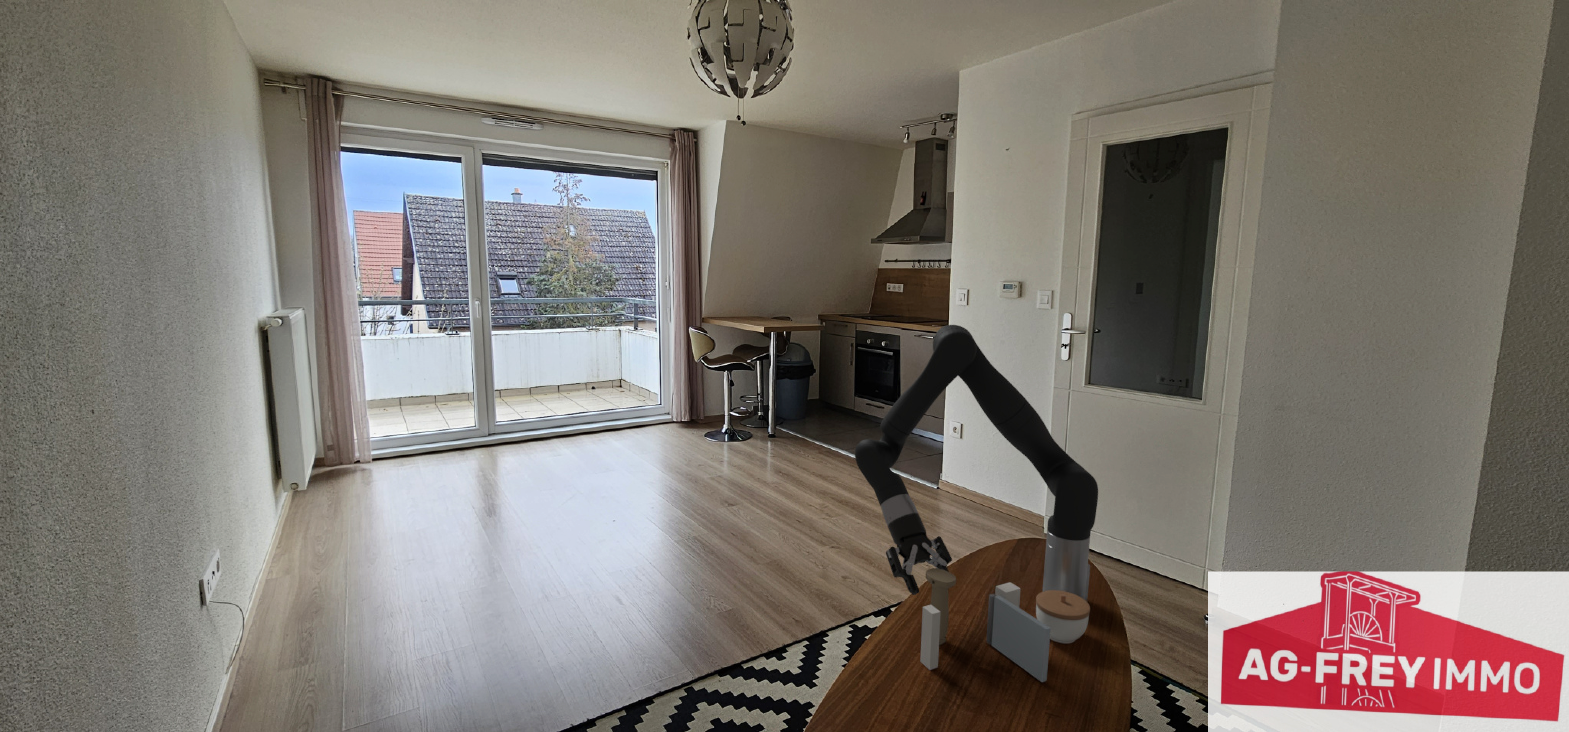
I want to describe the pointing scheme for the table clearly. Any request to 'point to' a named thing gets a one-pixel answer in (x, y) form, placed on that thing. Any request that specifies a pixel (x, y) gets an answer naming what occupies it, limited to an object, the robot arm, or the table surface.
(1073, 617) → the lidded jar
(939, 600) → the tan tapered grip
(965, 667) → the table surface
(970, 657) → the table surface
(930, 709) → the table surface
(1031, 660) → the door
